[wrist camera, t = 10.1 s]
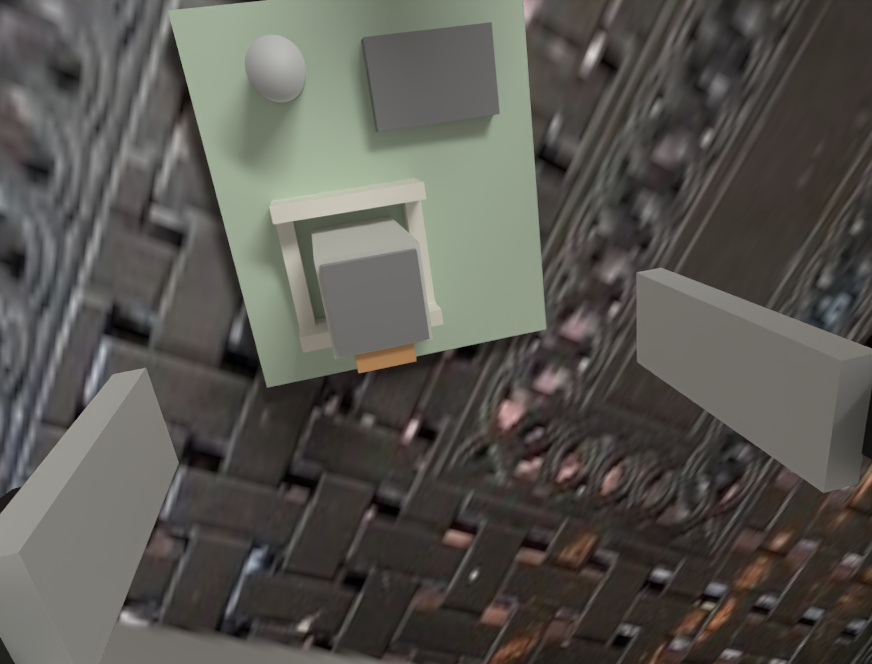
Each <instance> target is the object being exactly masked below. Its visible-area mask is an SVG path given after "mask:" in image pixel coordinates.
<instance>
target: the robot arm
mask: <svg viewBox="0 0 872 664" xmlns="http://www.w3.org/2000/svg"><path fill="white" fill-rule="evenodd" d="M636 279H637V362H638V363H639V364H641V365H642V366H643V367H645V368H646V369H648V370H649V371H651V372H652V373H653V374H655V375H656V376H658V377H659V378H661V379H662V380H663V381H665V382H666V383H668V384H669V385H671V386H672V387H673V388H675V389H676V390H678V391H679V392H680V393H682V394H683V395H685V396H686V397H688V398H689V399H690V400H692V401H693V402H695V403H696V404H698V405H699V406H700V407H702V408H703V409H705V410H706V411H708V412H709V413H710V414H712V415H713V416H715V417H716V418H718V419H719V420H720V421H722V422H723V423H725V424H726V425H728V426H729V427H730V428H732V429H733V430H735V431H736V432H738V433H739V434H740V435H742V436H743V437H745V438H746V439H748V440H749V441H750V442H752V443H753V444H755V445H756V446H757V447H759V448H760V449H762V450H763V451H765V452H766V453H767V454H769V455H770V456H772V457H773V458H775V459H776V460H777V461H779V462H780V463H782V464H783V465H785V466H786V467H787V468H789V469H790V470H792V471H793V472H795V473H796V474H797V475H799V476H800V477H802V478H803V479H805V480H806V481H807V482H809V483H810V484H812V485H813V486H815V487H816V488H817V489H819V490H820V491H822V492H823V493H825V492H829V491H833V490H836V489H840V488H844V487H847V486H851V485H855V484H859V477H860V471H861V465H862V459H863V455H865V456H866V457H868V458H870V459H871V460H872V349H871V348H868V347H866V346H863V345H861V344H858V343H855V342H853V341H850V340H848V339H845V338H842V337H840V336H837V335H835V334H832V333H829V332H827V331H824V330H822V329H819V328H816V327H814V326H811V325H809V324H806V323H803V322H801V321H798V320H796V319H793V318H790V317H788V316H785V315H783V314H780V313H777V312H775V311H772V310H770V309H767V308H765V307H762V306H759V305H757V304H754V303H752V302H749V301H746V300H744V299H741V298H739V297H736V296H733V295H731V294H728V293H726V292H723V291H720V290H718V289H715V288H713V287H710V286H707V285H705V284H702V283H700V282H697V281H694V280H692V279H689V278H687V277H684V276H681V275H679V274H676V273H674V272H671V271H668V270H666V269H663V268H658V269H652V270H647V271H642V272H637V273H636ZM178 463H179V462H178V459H177V456H176V453H175V451H174V448H173V445H172V442H171V439H170V436H169V433H168V430H167V427H166V424H165V422H164V419H163V416H162V413H161V410H160V407H159V404H158V401H157V398H156V395H155V393H154V390H153V387H152V384H151V381H150V378H149V375H148V372H147V369H146V368H143V369H138V370H133V371H128V372H122V373H117V374H113V375H112V376H111V378H110V379H109V380H108V381H107V382H106V384H105V385H104V386H103V387H102V389H101V390H100V391H99V392H98V394H97V395H96V396H95V397H94V399H93V400H92V401H91V402H90V404H89V405H88V406H87V407H86V408H85V410H84V411H83V412H82V413H81V415H80V416H79V417H78V418H77V420H76V421H75V422H74V423H73V425H72V426H71V427H70V428H69V430H68V431H67V432H66V433H65V434H64V436H63V437H62V438H61V439H60V441H59V442H58V443H57V444H56V446H55V447H54V448H53V449H52V451H51V452H50V453H49V454H48V456H47V457H46V458H45V459H44V460H43V462H42V463H41V464H40V465H39V467H38V468H37V469H36V470H35V472H34V473H33V474H32V475H31V477H30V478H29V479H28V480H27V482H26V483H25V484H24V485H23V486H22V487H20V488H15V489H12V490H11V491H9V492H8V493H7V494H5V495H4V496H3V497H1V498H0V664H100V661H101V659H102V656H103V654H104V651H105V649H106V646H107V644H108V641H109V639H110V636H111V633H112V631H113V628H114V626H115V623H116V621H117V618H118V616H119V613H120V611H121V608H122V605H123V603H124V600H125V598H126V595H127V593H128V590H129V588H130V585H131V583H132V580H133V578H134V575H135V572H136V570H137V567H138V565H139V562H140V560H141V557H142V555H143V552H144V550H145V547H146V545H147V542H148V539H149V537H150V534H151V532H152V529H153V527H154V524H155V522H156V519H157V517H158V514H159V512H160V509H161V506H162V504H163V501H164V499H165V496H166V494H167V491H168V489H169V486H170V484H171V481H172V478H173V476H174V473H175V471H176V468H177V466H178Z"/></svg>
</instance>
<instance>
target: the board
mask: <svg viewBox="0 0 872 664" xmlns="http://www.w3.org/2000/svg"><path fill="white" fill-rule="evenodd" d="M168 13H169V17H170V21H171V25H172V28H173V32H174V36H175V40H176V44H177V47H178V51H179V55H180V59H181V63H182V66H183V70H184V74H185V78H186V82H187V85H188V89H189V93H190V97H191V101H192V104H193V108H194V112H195V116H196V120H197V123H198V127H199V131H200V135H201V139H202V142H203V146H204V150H205V154H206V158H207V161H208V165H209V169H210V173H211V177H212V180H213V184H214V188H215V192H216V196H217V199H218V203H219V207H220V211H221V215H222V218H223V222H224V226H225V230H226V234H227V237H228V241H229V245H230V249H231V253H232V256H233V260H234V264H235V268H236V272H237V275H238V279H239V283H240V287H241V291H242V294H243V298H244V302H245V306H246V310H247V313H248V317H249V321H250V325H251V329H252V332H253V336H254V340H255V344H256V348H257V351H258V355H259V359H260V363H261V367H262V370H263V374H264V378H265V382H266V386H267V388H268V387H273V386H278V385H282V384H287V383H292V382H297V381H301V380H306V379H311V378H316V377H321V376H325V375H330V374H335V373H340V372H344V371H349V370H354V369H357V365H356V361H355V357H354V355H353V356H348V357H343V358H339V359H335V358H334V353H333V349H332V344H331V339H330V334H329V330H328V325H327V320H326V316H325V311H324V306H323V301H322V297H321V292H320V287H319V282H318V278H317V273H316V268H315V264H314V256H313V244H312V233H311V229H314V228H320V227H326V226H332V225H338V224H344V223H350V222H356V221H362V220H368V219H374V218H380V217H386V216H390V217H392V218H393V219H394V220H395V221H396V222H397V223H398V224H399V225H401V226H402V227H403V228H404V229H405V230H406V231H407V232H408V233H409V234H411V235H412V236H413V237H414V238H415V239H416V240H417V241H418V242H419V245H420V252H421V259H422V266H423V273H424V280H425V287H426V294H427V301H428V307H429V314H430V321H431V328H432V335H433V339H432V340H427V341H422V342H417V343H414V347H415V354H416V356H421V355H425V354H430V353H435V352H440V351H445V350H449V349H454V348H459V347H464V346H468V345H473V344H478V343H483V342H487V341H492V340H497V339H502V338H507V337H511V336H516V335H521V334H526V333H530V332H535V331H540V330H545V329H546V318H545V304H544V290H543V276H542V261H541V247H540V233H539V219H538V204H537V190H536V176H535V162H534V148H533V133H532V119H531V105H530V91H529V76H528V62H527V48H526V34H525V20H524V5H523V0H266V1H257V2H247V3H237V4H228V5H218V6H208V7H199V8H189V9H179V10H169V11H168Z"/></svg>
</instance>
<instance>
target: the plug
mask: <svg viewBox="0 0 872 664" xmlns="http://www.w3.org/2000/svg"><path fill="white" fill-rule="evenodd" d="M311 233H312V244H313V256H314V264H315V268H316V273H317V278H318V282H319V287H320V292H321V297H322V301H323V306H324V311H325V316H326V320H327V325H328V330H329V334H330V339H331V344H332V349H333V353H334V358H335V359H339V358H343V357H348V356H353V355H354V357H355V361H356V365H357V369H358V373H363V372H368V371H372V370H377V369H382V368H387V367H391V366H396V365H401V364H406V363H411V362H415V361H417V360H416V354H415V347H414V343H417V342H422V341H427V340H432V339H433V335H432V328H431V321H430V314H429V307H428V301H427V294H426V287H425V280H424V273H423V266H422V259H421V252H420V245H419V242H418V241H417V240H416V239H415V238H414V237H413V236H412V235H411V234H409V233H408V232H407V231H406V230H405V229H404V228H403V227H402V226H401V225H399V224H398V223H397V222H396V221H395V220H394V219H393V218H392V217H390V216H386V217H380V218H374V219H368V220H362V221H356V222H350V223H344V224H338V225H332V226H326V227H320V228H314V229H311Z"/></svg>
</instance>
